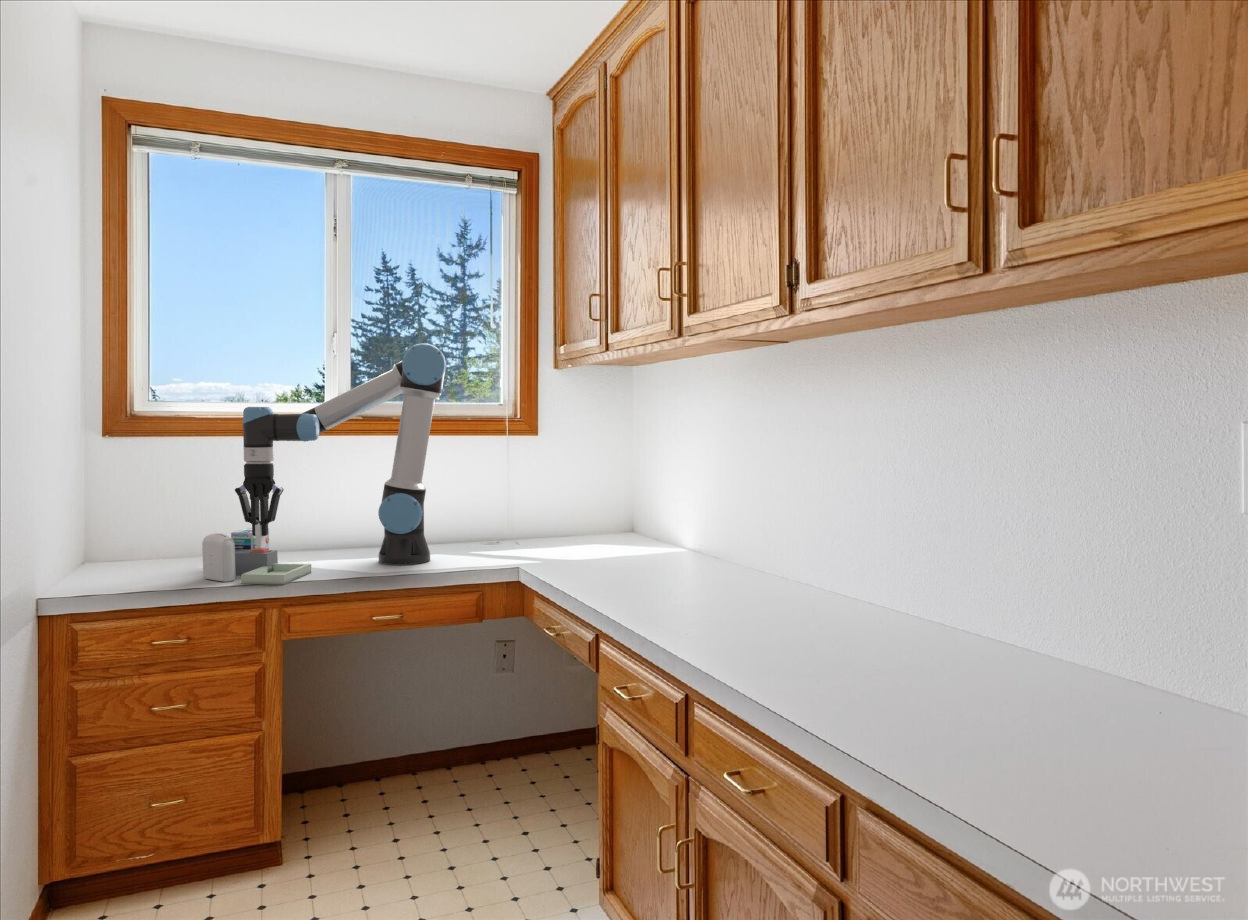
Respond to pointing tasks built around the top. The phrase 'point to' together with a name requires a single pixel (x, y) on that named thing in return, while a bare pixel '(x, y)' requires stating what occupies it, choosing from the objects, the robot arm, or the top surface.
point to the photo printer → (218, 557)
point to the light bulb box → (246, 539)
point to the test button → (260, 550)
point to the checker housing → (253, 560)
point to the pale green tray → (276, 574)
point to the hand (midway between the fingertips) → (260, 547)
